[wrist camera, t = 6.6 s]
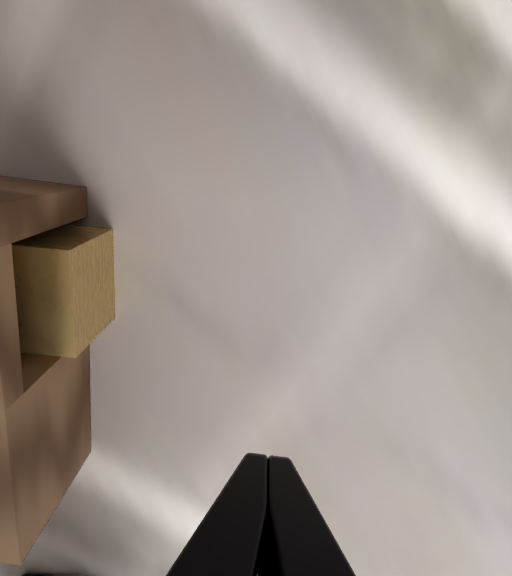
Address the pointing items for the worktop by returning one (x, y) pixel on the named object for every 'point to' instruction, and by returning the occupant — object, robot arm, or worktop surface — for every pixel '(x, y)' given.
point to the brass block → (63, 289)
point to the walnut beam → (36, 382)
